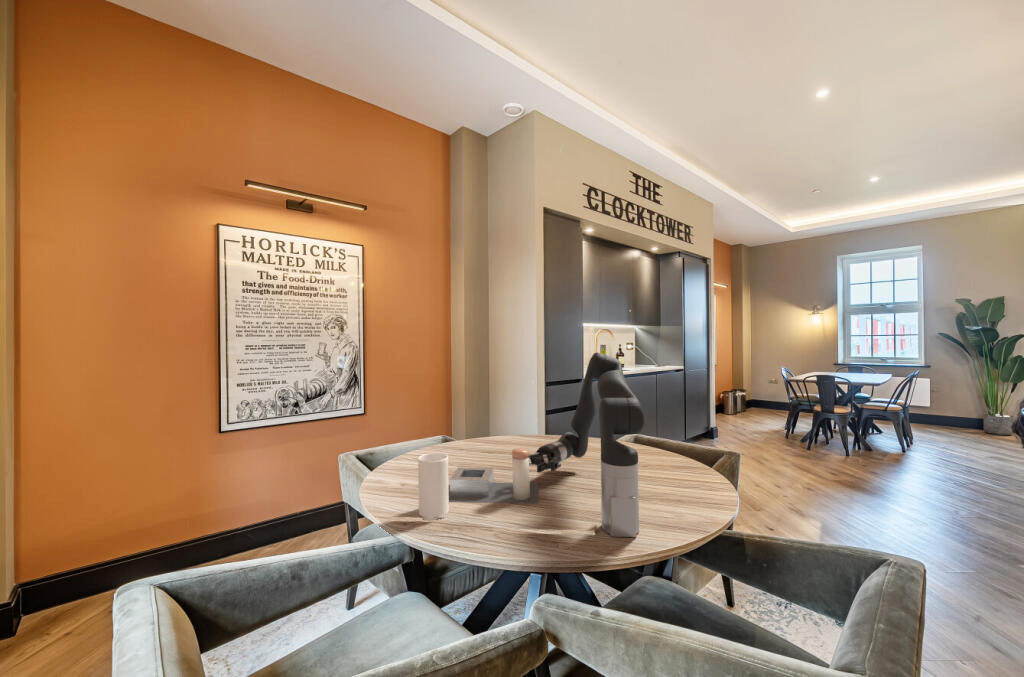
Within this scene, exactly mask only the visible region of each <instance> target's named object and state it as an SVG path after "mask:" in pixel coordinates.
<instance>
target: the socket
mask: <svg viewBox="0 0 1024 677" xmlns="http://www.w3.org/2000/svg"><path fill="white" fill-rule="evenodd" d="M494 469H495V468H494V467H461V466H460V467H457V468H456V470H455V471H454V472H453V474H452V476H451V477H450V478H449V492H450V496H477V497H489V495H490V492H491V489H492V487H493V484H494V482H495V481H494V480H495V478H494V477H495V476H494V472H495V471H494Z"/></svg>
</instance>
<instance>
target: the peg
mask: <svg viewBox="0 0 1024 677" xmlns="http://www.w3.org/2000/svg"><path fill="white" fill-rule="evenodd" d="M529 451H530V450H529V449H528V448H521V447H520V448H515V449H512V450H511V458H512V460H511V461H512V463H511V464H512V483H513V496H514V499H516V500H527V499H529V498H530V483H531V482H530V480H531V479H530V466H529V463H530V459H529V454H530V452H529Z"/></svg>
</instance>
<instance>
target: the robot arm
mask: <svg viewBox="0 0 1024 677" xmlns="http://www.w3.org/2000/svg"><path fill="white" fill-rule="evenodd" d="M594 379H595V380H597V384H596V385H597V387H596V388H597V391H598V392H597V393H598V395H599V398H600V399H601V400H600V403H599V406H598V409H599V410H598V418H599V430H600V431H599V432H600V486H601V487H600V494H601V495H600V496H601V497H600V498H601V502H600V504H601V505H600V510H601V512H600V513H601V529H602V530H603V531H604V532H605V533H607V534H609V535H610V537H617V538H618V537H621V538H623V537H624V538H637V535H638V534H639V532H640V504H639V502H640V501H639V500H640V499H639V498H640V496H639V491H640V490H639V453H638V451H637V450H636V449H635V448H634V447H631V446H630V445H629V446H628V445H625V444H624V443H622V442H619V441H618V440H616V439H615V438H614V435H624V436H625V435H627V436H628V435H629V436H632V435H637V434H638V435H639V433H641V432H642V431H643V430H644V427H645V422H646V421H645V417H646V416H645V412H644V409H643V406H642V403H641V402H640V400H639V399H638V397H636V395H635V394H634V392H632V390H631V387H630V385H629V382H628V381H627V379H626V377H625V375H624V371H623V366H622V363H621V361H620V360H619V359H617V358H616V357H614V356H613V357H612V356H609V355H607V354H604V353H600V352H595V353H593V354H592V356H591V357H590V359H589V360H588V364H587V368H586V372H585V376H584V379H583V382H582V383H583V384H582V387H581V391H580V395H579V400H578V404H577V406H576V409H575V412H574V414H573V417H572V420H571V422H570V426H571V429H572V430H573V431H574V432H575V433H576V434H575V433H574V432H572V431H565V432H563V433H562V435H561V436H560V437H559V439H557V440H555V441H552V442H549V443H547V444H544V445H541V446H540V447H539V448H537V450H536V451H535V452H534V453H529V461H530V462H529V467H531V466H535V467H536V473H539V474H540V473H542V472H544V471H549V470H550V471H552V472H554V471H556V470H557V469H559V468H561V467H562V463H563V462H564V461H565V460H567V459H570V458H571V456H573V457H576V458H577V459H580V458H583V457H584V456H585V455H586V453H587V451H588V447H589V436H590V429H591V427H592V424H593V423H594V422H593V421H594V419H595V416H596V412H597V411H596V404H595V399H594V394H593V383H594Z"/></svg>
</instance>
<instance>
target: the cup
mask: <svg viewBox="0 0 1024 677" xmlns="http://www.w3.org/2000/svg"><path fill="white" fill-rule="evenodd" d="M417 460H418V461H417V462H418V466H417V467H418V468H417V470H418V473H417V474H418V475H417V476H418V478H417V480H418V485H417V486H418V514H419V515H420V516H419V517H420V518H422V519H424V520H423V521H426V520H436V521H440V520H443V519H442V518H443V517H442V516H444V515H446V514H447V513H449V510H450V508H449V505H450V504H449V503H450V502H449V492H450V488H449V455H448V454H446V453H443V452H442V453H441V452H439V453H438V452H434V453H433V452H432V453H425V454H422V455H420V456H418V458H417ZM420 518H419V519H420ZM422 519H421V520H422ZM439 519H440V520H439Z"/></svg>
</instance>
